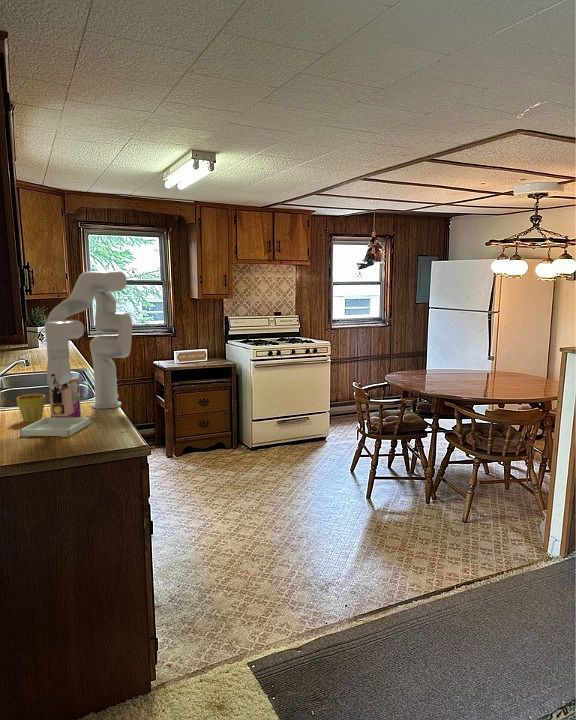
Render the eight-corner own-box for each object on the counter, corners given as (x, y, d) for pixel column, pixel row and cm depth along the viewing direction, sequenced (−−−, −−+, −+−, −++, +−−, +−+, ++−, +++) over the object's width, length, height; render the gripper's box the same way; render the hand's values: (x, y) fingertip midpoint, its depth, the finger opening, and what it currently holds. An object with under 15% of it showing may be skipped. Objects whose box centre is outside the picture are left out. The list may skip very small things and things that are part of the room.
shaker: (58, 412, 201) (56, 386, 200) (74, 412, 201) (72, 386, 200) (51, 416, 196) (49, 390, 194) (66, 416, 195) (64, 390, 194)
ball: (51, 410, 196) (52, 408, 194) (58, 405, 198) (59, 403, 195) (57, 416, 196) (58, 414, 194) (63, 411, 198) (64, 409, 196)
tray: (45, 423, 203) (45, 417, 203) (90, 423, 202) (90, 417, 202) (20, 436, 185) (19, 429, 185) (69, 436, 185) (69, 429, 184)
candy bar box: (50, 420, 208) (48, 380, 206) (52, 417, 213) (49, 378, 210) (80, 418, 211) (78, 378, 209) (81, 415, 216) (79, 376, 214)
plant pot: (35, 424, 203) (33, 399, 201) (12, 423, 205) (10, 398, 203) (52, 417, 213) (50, 394, 211) (30, 416, 215) (28, 393, 213)
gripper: (59, 351, 204) (62, 396, 206) (36, 357, 187) (40, 406, 189) (78, 351, 203) (81, 396, 206) (57, 357, 186) (60, 406, 189)
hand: (61, 400), depth 198 cm, fingers closed on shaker, 6 cm apart
